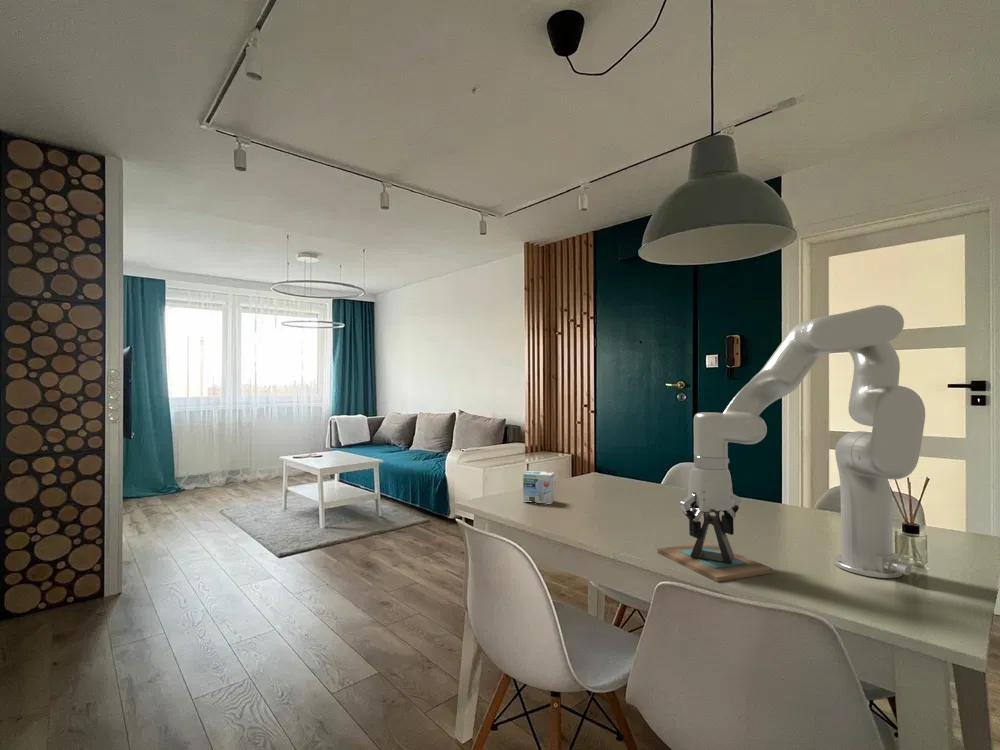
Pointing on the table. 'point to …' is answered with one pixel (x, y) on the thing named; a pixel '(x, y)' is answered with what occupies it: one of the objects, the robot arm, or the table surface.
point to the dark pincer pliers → (723, 542)
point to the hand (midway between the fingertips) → (711, 535)
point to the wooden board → (715, 563)
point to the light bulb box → (538, 486)
